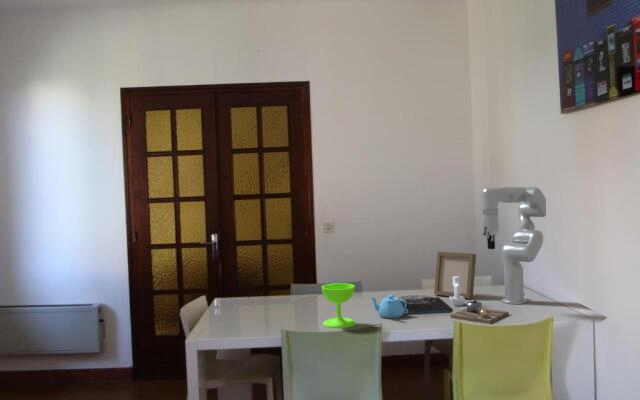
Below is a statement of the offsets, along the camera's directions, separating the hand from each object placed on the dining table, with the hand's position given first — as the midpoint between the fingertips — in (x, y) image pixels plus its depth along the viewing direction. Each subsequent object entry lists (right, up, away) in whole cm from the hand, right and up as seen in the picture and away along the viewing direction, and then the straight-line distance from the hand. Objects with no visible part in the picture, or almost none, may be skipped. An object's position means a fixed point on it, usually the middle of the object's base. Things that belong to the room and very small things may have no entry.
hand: (491, 248), depth 285 cm
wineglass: (-78, -35, -16) cm, 87 cm away
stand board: (-9, -32, -12) cm, 35 cm away
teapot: (-52, -33, -4) cm, 62 cm away
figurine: (-14, -31, +15) cm, 37 cm away
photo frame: (-8, -30, +37) cm, 49 cm away
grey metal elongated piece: (-10, -30, -13) cm, 35 cm away
